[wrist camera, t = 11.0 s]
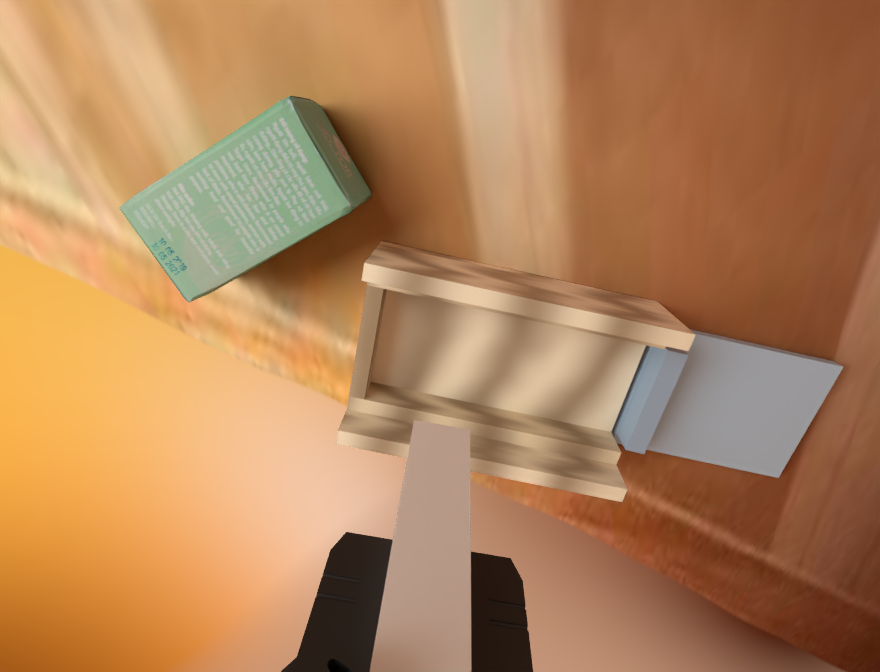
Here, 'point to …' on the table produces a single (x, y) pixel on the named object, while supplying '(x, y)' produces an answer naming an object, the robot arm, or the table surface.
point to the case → (500, 366)
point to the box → (247, 197)
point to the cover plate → (724, 403)
